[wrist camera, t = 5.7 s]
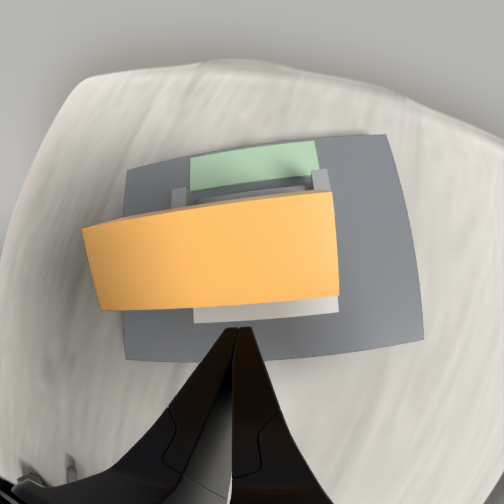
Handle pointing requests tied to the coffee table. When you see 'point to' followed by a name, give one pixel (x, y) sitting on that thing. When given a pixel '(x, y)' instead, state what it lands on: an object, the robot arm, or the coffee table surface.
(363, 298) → the box
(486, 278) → the coffee table surface
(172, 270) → the breaker lever
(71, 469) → the walkie-talkie
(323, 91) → the coffee table surface
